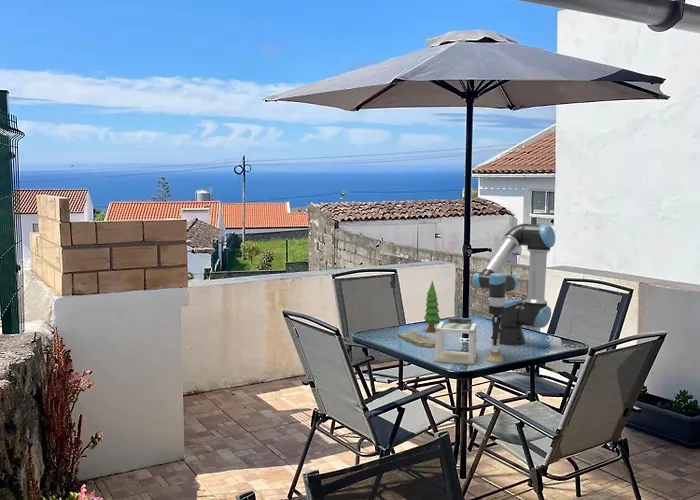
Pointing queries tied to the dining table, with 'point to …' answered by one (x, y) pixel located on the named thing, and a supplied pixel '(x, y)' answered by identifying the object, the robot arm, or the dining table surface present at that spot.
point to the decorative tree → (432, 309)
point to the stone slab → (418, 339)
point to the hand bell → (495, 356)
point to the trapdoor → (458, 323)
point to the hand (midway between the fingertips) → (495, 348)
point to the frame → (453, 355)
